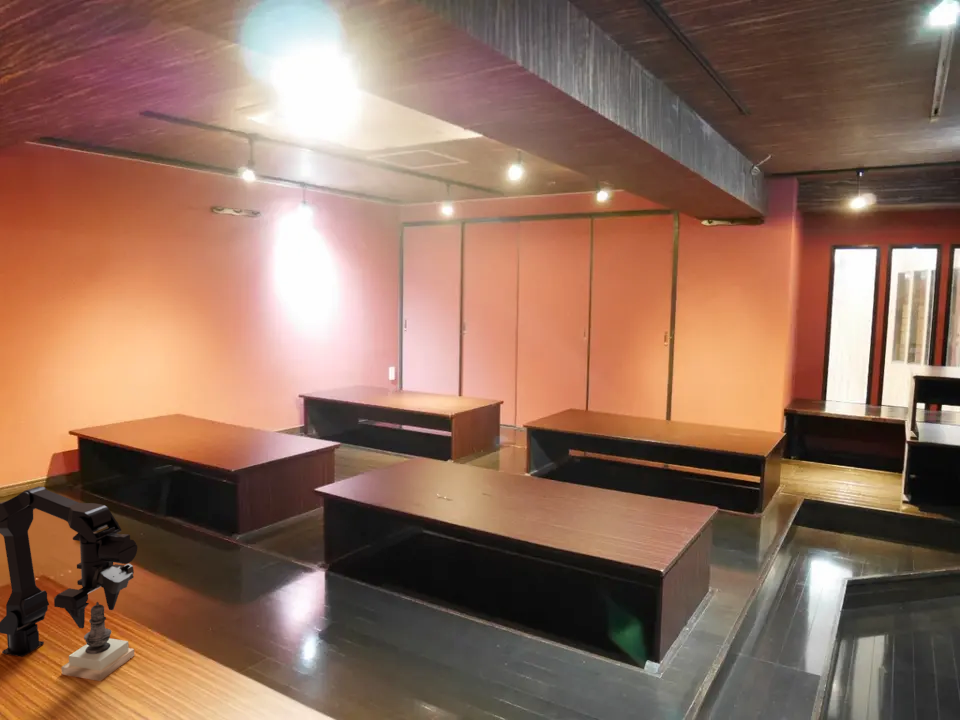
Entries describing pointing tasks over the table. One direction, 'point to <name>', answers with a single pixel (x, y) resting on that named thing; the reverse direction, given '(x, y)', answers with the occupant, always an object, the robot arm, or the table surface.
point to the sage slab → (99, 655)
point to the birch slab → (95, 673)
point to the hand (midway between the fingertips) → (96, 618)
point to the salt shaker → (97, 631)
